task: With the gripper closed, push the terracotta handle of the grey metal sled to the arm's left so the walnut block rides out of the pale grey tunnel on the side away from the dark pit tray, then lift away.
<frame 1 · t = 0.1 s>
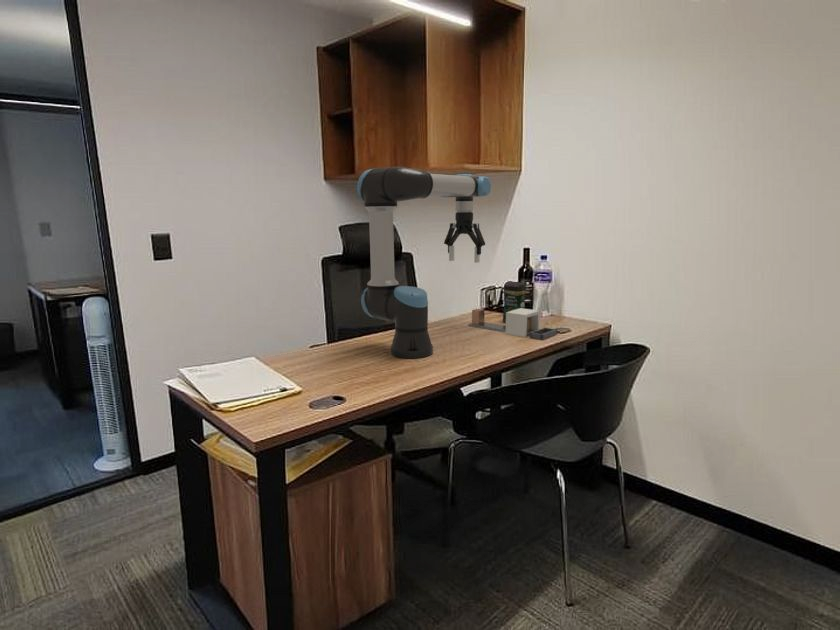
hand: (464, 261, 224), 28 cm above the table, fingers open, 13 cm apart
coffee jar: (513, 323, 231), on the table
tunnel: (522, 333, 212), on the table
sled: (500, 321, 218), point 4 cm above the table, slide at 0.0 cm
pit tray: (543, 337, 206), on the table
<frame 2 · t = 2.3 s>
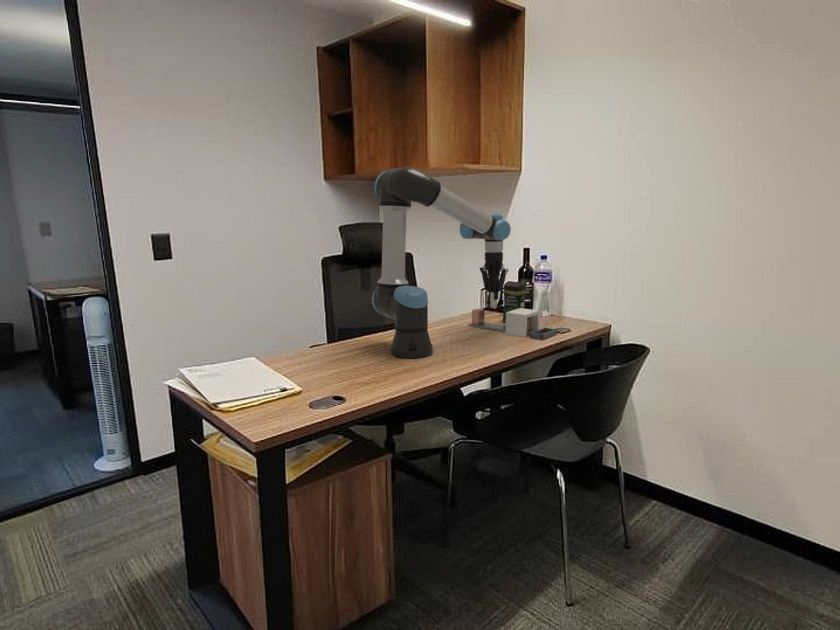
hand: (493, 307, 219), 9 cm above the table, fingers closed
nothing on the table moved.
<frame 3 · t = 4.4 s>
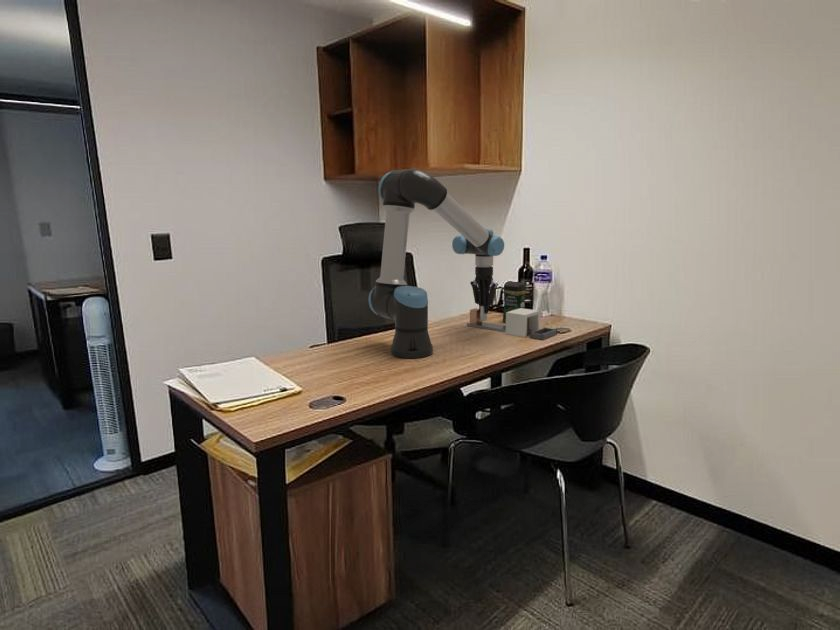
hand: (483, 320, 224), 3 cm above the table, fingers closed
sled: (498, 320, 218), point 4 cm above the table, slide at 1.1 cm, touching gripper
everything else where it was.
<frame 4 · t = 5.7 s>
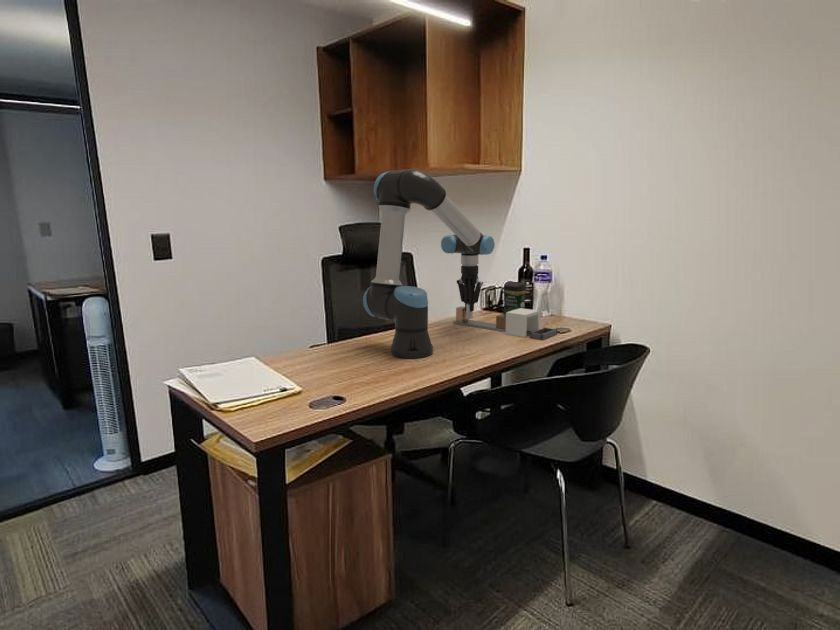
hand: (469, 318, 228), 3 cm above the table, fingers closed
sled: (483, 318, 223), point 4 cm above the table, slide at 8.6 cm, touching gripper
everything else where it was.
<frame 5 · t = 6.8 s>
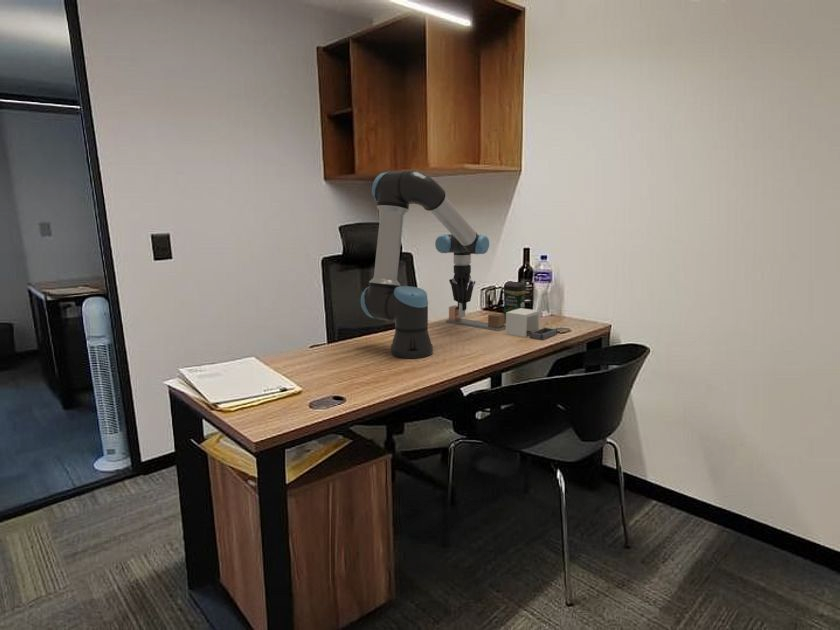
hand: (462, 317, 231), 3 cm above the table, fingers closed
sled: (476, 317, 226), point 4 cm above the table, slide at 12.7 cm, touching gripper
everything else where it was.
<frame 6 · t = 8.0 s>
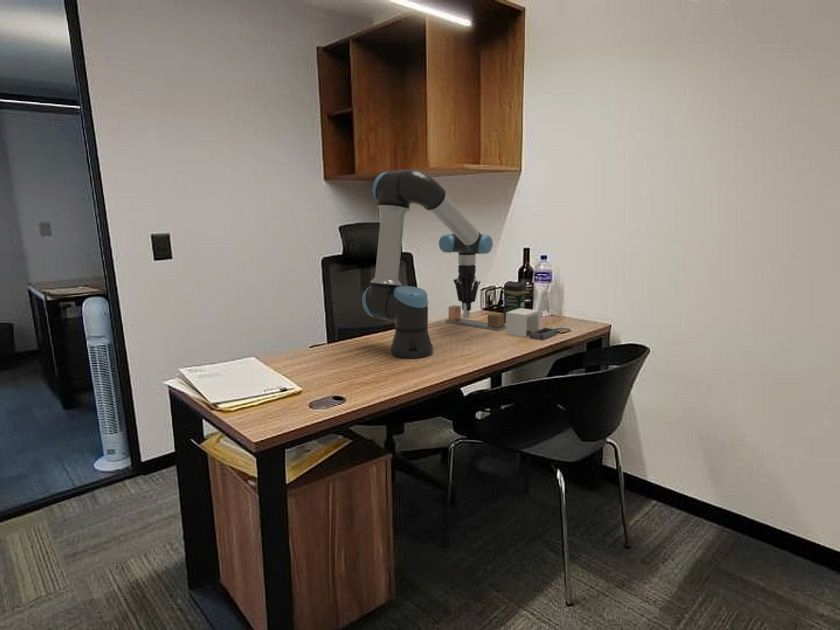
hand: (466, 317, 229), 3 cm above the table, fingers closed
sled: (475, 317, 226), point 4 cm above the table, slide at 12.9 cm
everything else where it was.
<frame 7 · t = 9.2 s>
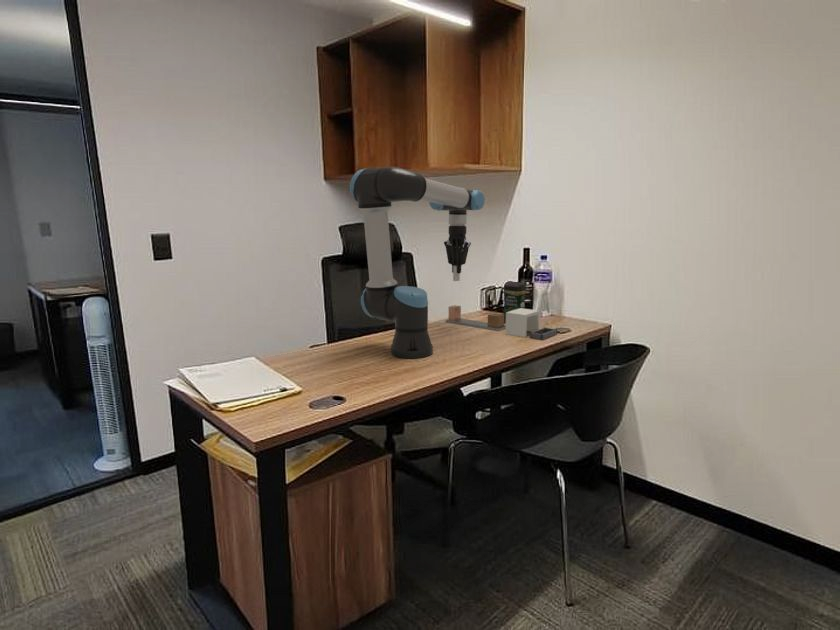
hand: (456, 280, 223), 20 cm above the table, fingers closed
nothing on the table moved.
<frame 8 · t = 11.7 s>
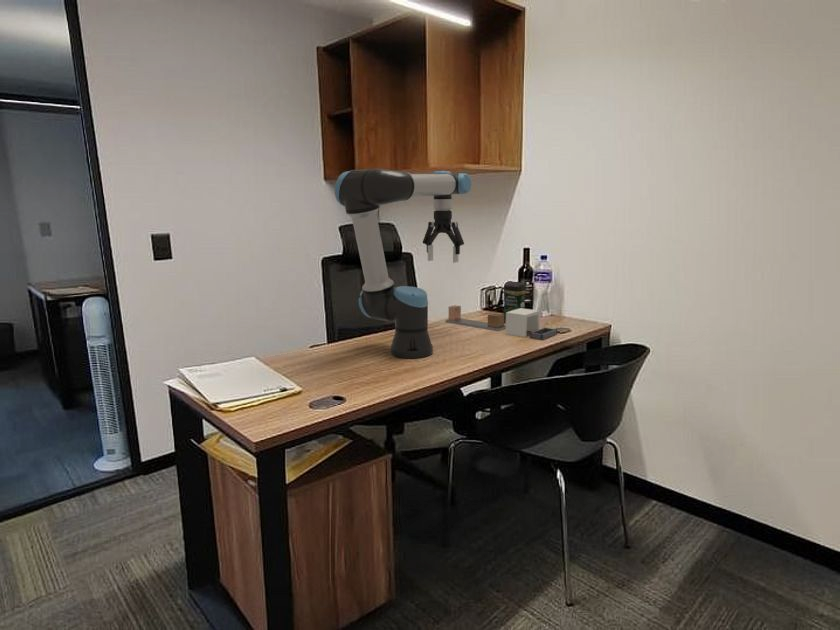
hand: (442, 261, 218), 29 cm above the table, fingers open, 13 cm apart
nothing on the table moved.
at the end: sled slide at 12.9 cm; the gripper is holding nothing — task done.
